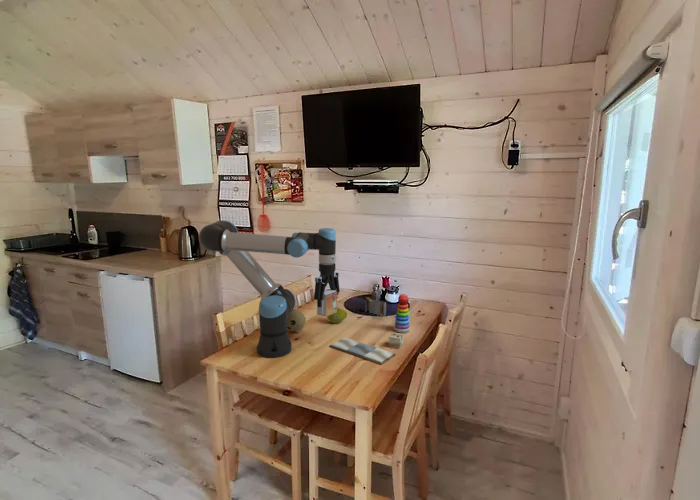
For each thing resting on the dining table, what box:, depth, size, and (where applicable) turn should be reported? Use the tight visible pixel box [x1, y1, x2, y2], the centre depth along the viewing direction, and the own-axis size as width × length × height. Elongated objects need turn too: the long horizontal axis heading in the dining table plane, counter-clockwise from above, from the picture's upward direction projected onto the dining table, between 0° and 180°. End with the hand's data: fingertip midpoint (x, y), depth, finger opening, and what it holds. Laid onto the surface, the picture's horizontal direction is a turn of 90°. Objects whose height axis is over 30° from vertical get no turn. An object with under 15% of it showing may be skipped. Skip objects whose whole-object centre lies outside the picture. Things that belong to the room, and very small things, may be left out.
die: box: [388, 332, 404, 350], centre depth 188 cm, size 5×5×5 cm
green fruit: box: [327, 307, 348, 324], centre depth 215 cm, size 11×8×8 cm
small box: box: [316, 288, 338, 318], centre depth 191 cm, size 8×6×10 cm
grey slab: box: [364, 296, 387, 317], centre depth 227 cm, size 11×3×10 cm, turn 60°
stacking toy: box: [393, 293, 411, 334], centre depth 204 cm, size 8×8×19 cm
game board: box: [329, 337, 397, 366], centre depth 183 cm, size 11×28×1 cm, turn 52°
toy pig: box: [287, 309, 306, 334], centre depth 203 cm, size 10×12×11 cm
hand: (327, 310), depth 192 cm, fingers closed on small box, 8 cm apart
